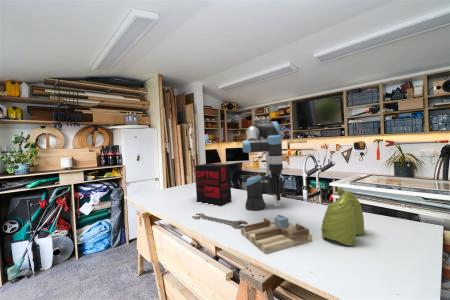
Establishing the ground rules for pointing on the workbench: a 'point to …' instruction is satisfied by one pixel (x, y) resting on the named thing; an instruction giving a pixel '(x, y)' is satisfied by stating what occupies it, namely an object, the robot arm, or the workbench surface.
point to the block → (281, 222)
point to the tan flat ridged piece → (275, 235)
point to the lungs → (343, 219)
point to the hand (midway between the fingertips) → (277, 205)
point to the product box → (213, 183)
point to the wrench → (222, 221)
